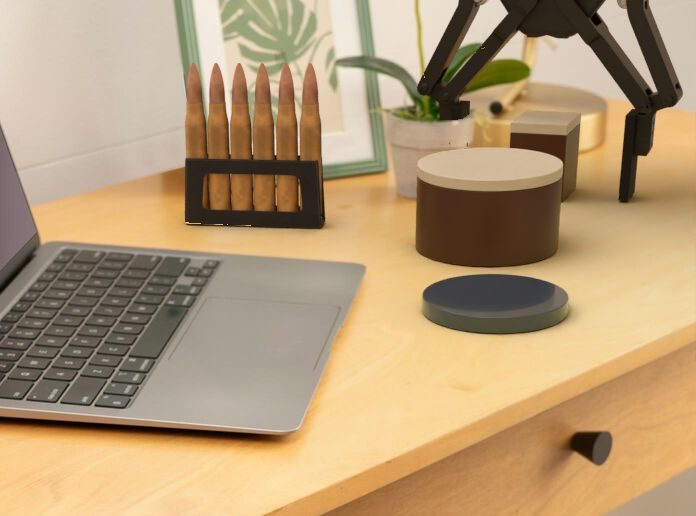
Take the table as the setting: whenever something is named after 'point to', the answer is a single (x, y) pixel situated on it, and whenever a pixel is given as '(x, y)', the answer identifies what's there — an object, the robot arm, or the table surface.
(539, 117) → the cake slice
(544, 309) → the plate
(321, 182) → the ammunition clip
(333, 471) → the table surface
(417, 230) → the cake
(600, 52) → the robot arm
